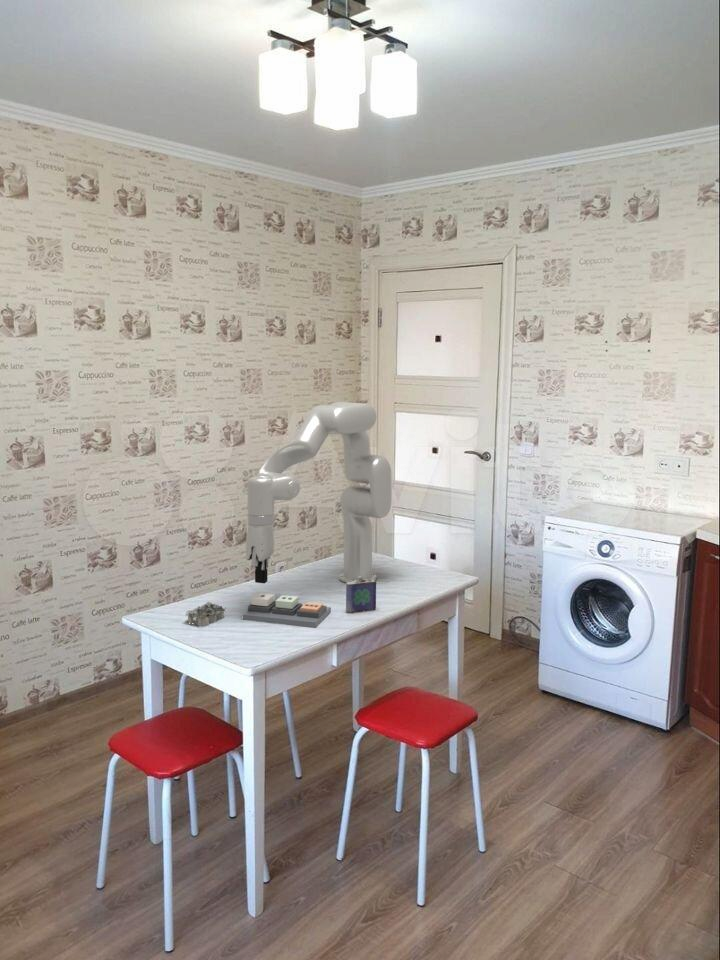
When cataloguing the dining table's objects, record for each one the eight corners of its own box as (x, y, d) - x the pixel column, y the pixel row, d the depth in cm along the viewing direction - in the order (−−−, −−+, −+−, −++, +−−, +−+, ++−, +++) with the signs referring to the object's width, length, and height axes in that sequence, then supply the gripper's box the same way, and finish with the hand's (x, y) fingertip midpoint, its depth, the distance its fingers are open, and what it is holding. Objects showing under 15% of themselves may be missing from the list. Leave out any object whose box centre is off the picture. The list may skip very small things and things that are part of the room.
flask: (347, 614, 220) (347, 578, 218) (344, 610, 222) (344, 575, 221) (377, 610, 223) (377, 575, 221) (373, 607, 225) (374, 572, 224)
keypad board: (261, 605, 227) (261, 595, 227) (330, 612, 221) (330, 602, 220) (242, 619, 215) (242, 609, 214) (315, 627, 209) (315, 617, 208)
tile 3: (306, 608, 219) (306, 601, 218) (322, 610, 217) (322, 603, 217) (300, 614, 214) (300, 607, 214) (317, 616, 212) (316, 608, 212)
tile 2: (282, 601, 220) (282, 594, 220) (298, 603, 219) (298, 596, 219) (275, 607, 216) (275, 599, 215) (292, 608, 214) (291, 601, 214)
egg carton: (202, 629, 209) (202, 615, 208) (183, 623, 212) (182, 610, 212) (228, 617, 217) (228, 603, 217) (209, 612, 221) (208, 599, 221)
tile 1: (258, 599, 223) (258, 592, 222) (274, 600, 221) (274, 593, 221) (251, 604, 218) (251, 597, 218) (267, 606, 216) (267, 599, 216)
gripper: (259, 514, 223) (259, 574, 226) (237, 523, 209) (238, 588, 212) (283, 516, 221) (283, 576, 224) (262, 525, 207) (262, 590, 210)
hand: (261, 582), depth 218 cm, fingers closed
